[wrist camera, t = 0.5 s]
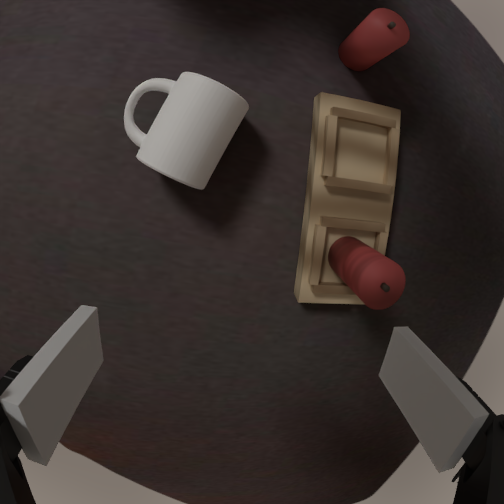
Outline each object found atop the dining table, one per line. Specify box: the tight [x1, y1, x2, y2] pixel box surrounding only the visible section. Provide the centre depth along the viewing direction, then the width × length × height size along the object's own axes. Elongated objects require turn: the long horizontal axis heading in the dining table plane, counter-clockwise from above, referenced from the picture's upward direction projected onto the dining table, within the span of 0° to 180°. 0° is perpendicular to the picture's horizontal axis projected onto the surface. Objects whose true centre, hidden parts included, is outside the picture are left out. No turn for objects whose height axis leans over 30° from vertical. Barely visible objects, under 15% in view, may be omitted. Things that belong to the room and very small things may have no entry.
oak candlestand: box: [294, 92, 405, 310], centre depth 31 cm, size 24×10×14 cm, turn 175°
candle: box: [338, 8, 410, 71], centre depth 28 cm, size 5×5×11 cm
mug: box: [124, 72, 249, 190], centre depth 31 cm, size 12×10×8 cm
